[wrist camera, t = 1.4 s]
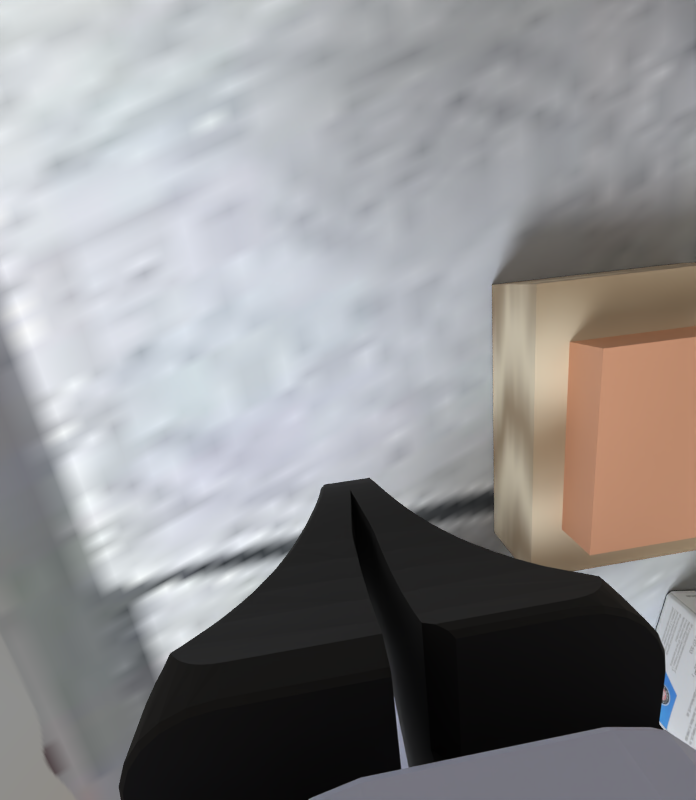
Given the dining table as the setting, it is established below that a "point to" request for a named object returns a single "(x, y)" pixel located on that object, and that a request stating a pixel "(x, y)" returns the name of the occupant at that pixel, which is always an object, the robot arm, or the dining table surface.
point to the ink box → (679, 665)
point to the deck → (563, 394)
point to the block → (631, 440)
